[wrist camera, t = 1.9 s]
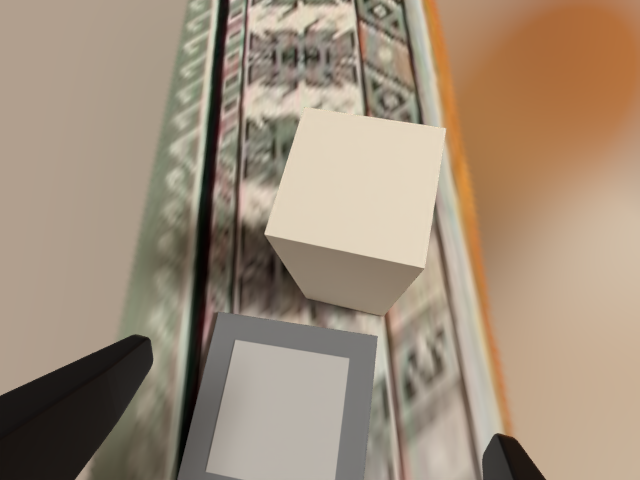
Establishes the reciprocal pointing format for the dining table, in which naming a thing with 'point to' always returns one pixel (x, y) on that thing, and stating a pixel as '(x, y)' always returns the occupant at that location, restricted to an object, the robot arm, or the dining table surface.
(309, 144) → the cream block
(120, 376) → the robot arm
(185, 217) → the dining table surface
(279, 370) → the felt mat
